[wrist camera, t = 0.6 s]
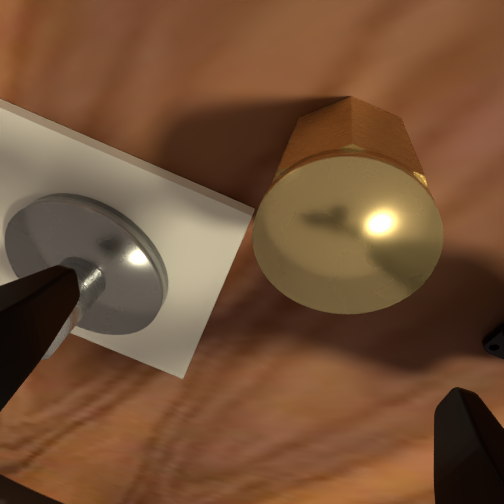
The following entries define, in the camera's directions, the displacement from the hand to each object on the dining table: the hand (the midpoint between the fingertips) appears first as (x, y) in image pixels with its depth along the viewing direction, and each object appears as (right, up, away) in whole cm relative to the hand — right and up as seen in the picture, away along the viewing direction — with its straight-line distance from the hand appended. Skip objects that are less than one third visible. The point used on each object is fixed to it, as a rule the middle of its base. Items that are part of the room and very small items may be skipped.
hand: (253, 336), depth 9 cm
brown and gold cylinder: (+4, +6, +8) cm, 11 cm away
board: (-11, +2, +15) cm, 19 cm away
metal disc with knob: (-10, +1, +15) cm, 18 cm away
